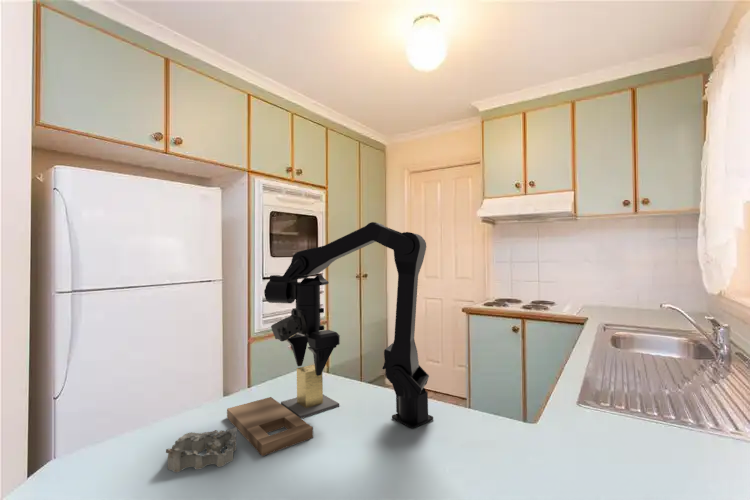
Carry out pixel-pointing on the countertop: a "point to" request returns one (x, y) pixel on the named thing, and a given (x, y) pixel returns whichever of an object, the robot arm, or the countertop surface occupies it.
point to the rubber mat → (305, 412)
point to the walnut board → (269, 425)
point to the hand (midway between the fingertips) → (308, 370)
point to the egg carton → (197, 443)
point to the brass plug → (309, 387)
